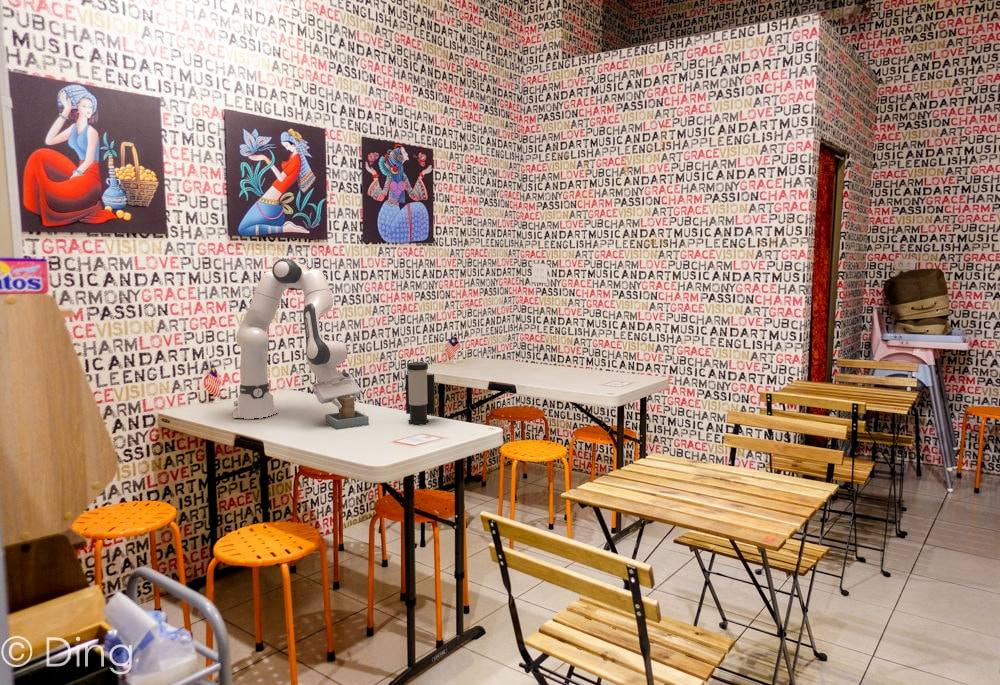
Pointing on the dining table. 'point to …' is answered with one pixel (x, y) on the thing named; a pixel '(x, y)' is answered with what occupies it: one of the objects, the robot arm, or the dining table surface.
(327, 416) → the tray
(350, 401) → the walnut block
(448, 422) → the dining table surface
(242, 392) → the robot arm
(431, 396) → the light fixture
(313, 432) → the dining table surface
